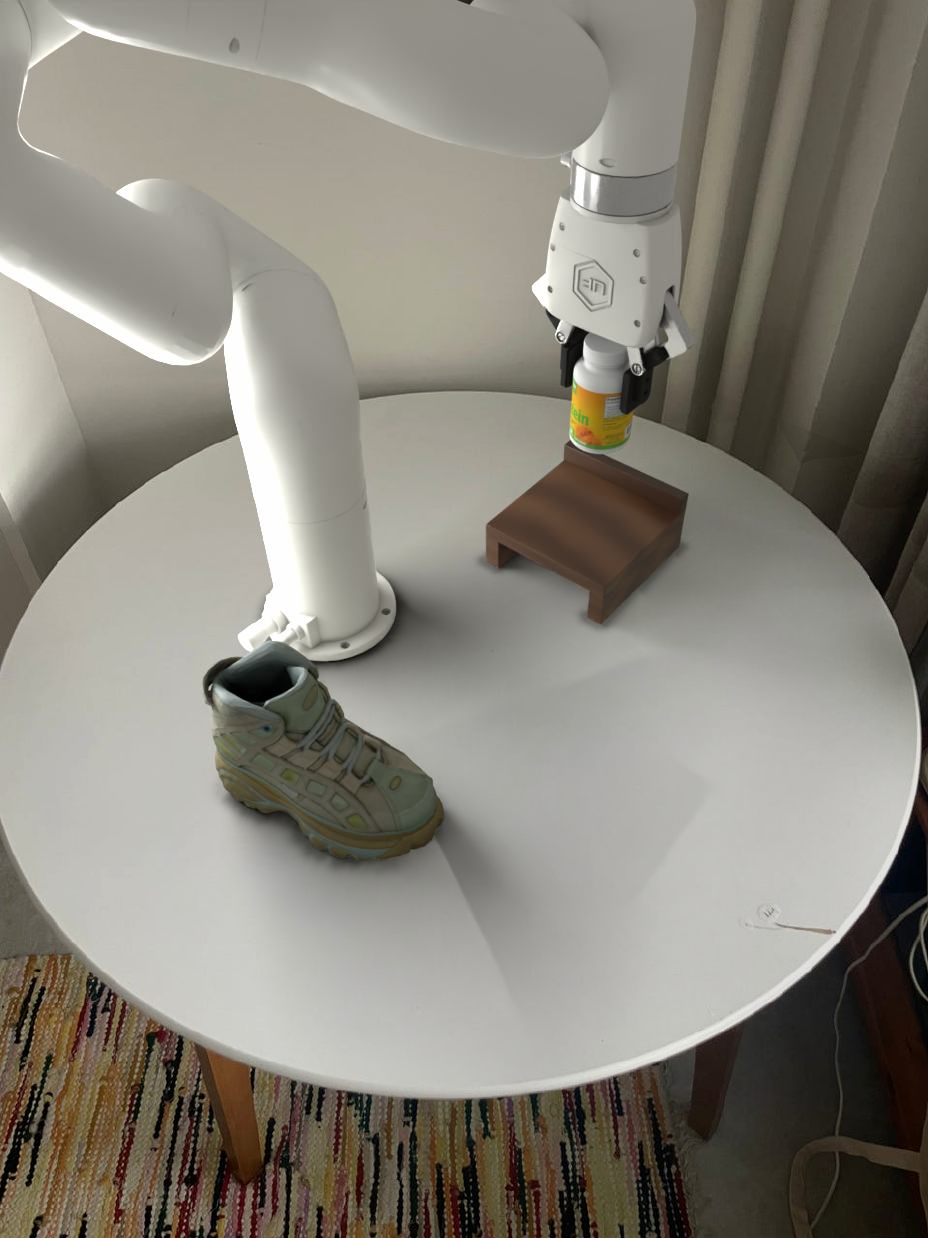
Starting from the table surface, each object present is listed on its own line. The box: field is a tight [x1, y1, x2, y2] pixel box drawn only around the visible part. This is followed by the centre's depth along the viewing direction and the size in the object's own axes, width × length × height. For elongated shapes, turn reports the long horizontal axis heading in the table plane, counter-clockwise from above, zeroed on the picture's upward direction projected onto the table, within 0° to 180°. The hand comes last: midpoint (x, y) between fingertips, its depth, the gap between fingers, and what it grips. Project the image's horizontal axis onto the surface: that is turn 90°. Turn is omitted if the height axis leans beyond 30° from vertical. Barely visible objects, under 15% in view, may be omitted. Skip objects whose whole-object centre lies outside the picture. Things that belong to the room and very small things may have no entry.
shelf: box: [485, 439, 689, 625], centre depth 101 cm, size 14×14×7 cm
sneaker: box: [201, 639, 445, 862], centre depth 79 cm, size 11×19×15 cm, turn 53°
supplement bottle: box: [568, 332, 634, 455], centre depth 88 cm, size 5×5×10 cm
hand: (603, 391), depth 87 cm, fingers closed on supplement bottle, 5 cm apart
